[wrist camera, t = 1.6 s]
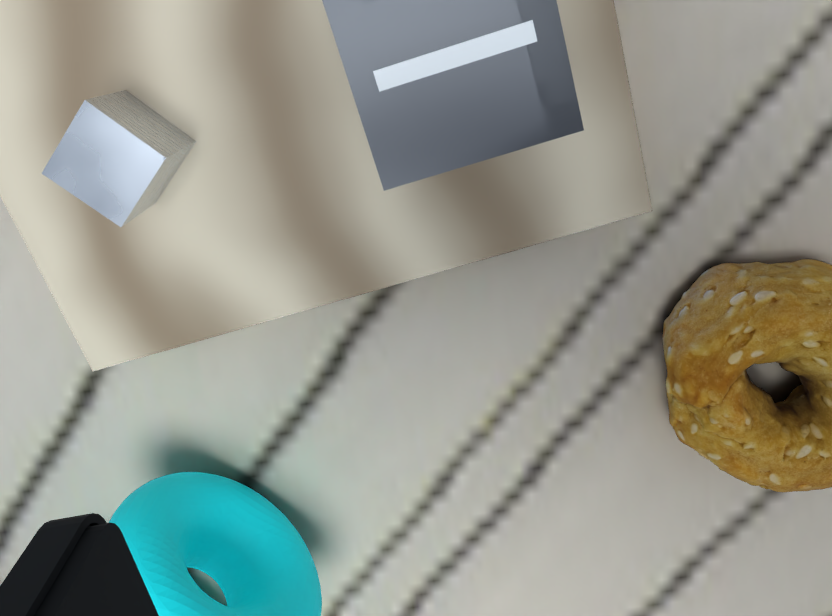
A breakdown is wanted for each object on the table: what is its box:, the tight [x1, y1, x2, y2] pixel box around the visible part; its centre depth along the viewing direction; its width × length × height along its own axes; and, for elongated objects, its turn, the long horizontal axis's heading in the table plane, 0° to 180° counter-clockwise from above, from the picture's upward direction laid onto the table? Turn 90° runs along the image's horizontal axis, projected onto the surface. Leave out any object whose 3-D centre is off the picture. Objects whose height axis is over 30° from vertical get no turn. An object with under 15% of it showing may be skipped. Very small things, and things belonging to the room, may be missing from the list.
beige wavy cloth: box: [0, 0, 652, 371], centre depth 27 cm, size 24×16×2 cm, turn 107°
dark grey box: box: [322, 0, 584, 191], centre depth 23 cm, size 6×6×5 cm
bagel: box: [663, 259, 832, 492], centre depth 30 cm, size 10×11×5 cm
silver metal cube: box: [41, 90, 196, 227], centre depth 25 cm, size 3×3×4 cm
